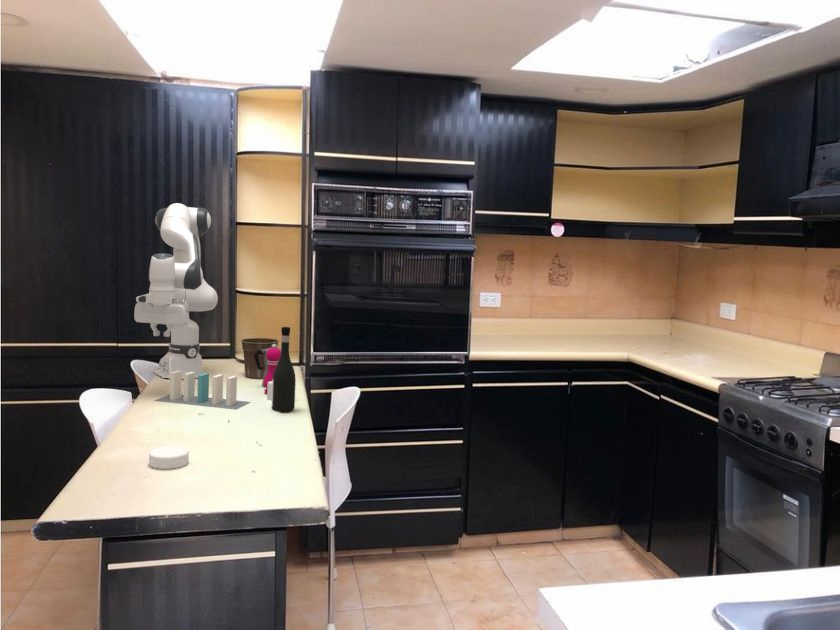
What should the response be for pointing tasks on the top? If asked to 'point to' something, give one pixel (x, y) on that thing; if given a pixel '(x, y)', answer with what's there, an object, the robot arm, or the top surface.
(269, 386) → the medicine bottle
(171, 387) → the ivory domino
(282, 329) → the wine bottle
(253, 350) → the plant pot
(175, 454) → the coaster
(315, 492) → the top surface
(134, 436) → the top surface
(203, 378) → the teal domino
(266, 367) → the coffeepot
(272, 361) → the pepper mill
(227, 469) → the top surface
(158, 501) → the top surface
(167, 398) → the slate mat
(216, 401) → the ivory domino
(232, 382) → the ivory domino
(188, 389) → the ivory domino
